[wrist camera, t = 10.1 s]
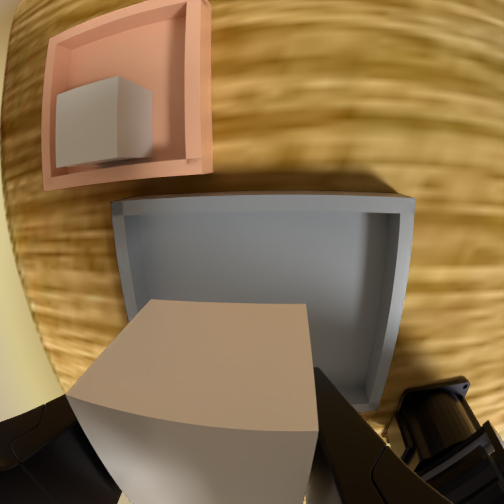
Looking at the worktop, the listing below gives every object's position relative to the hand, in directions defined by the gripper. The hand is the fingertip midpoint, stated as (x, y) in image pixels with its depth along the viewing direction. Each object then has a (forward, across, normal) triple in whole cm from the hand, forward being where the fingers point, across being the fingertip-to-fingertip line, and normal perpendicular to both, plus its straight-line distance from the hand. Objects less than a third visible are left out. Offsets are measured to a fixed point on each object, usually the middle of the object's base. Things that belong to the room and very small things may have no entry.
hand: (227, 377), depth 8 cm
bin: (+11, 0, +3) cm, 11 cm away
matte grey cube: (+10, +8, -8) cm, 15 cm away
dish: (+11, +8, -10) cm, 17 cm away
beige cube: (0, 0, 0) cm, 0 cm away
